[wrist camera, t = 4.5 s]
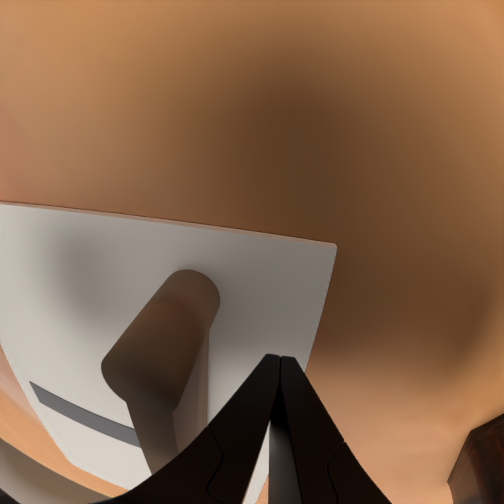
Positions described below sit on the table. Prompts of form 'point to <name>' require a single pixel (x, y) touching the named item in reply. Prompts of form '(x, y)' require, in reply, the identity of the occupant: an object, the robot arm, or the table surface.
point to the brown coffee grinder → (480, 466)
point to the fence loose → (166, 365)
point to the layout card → (128, 307)
